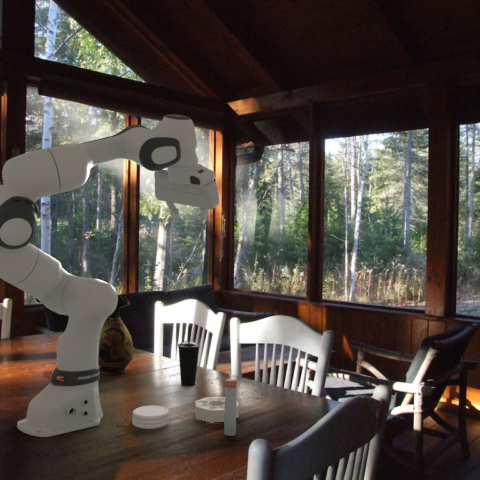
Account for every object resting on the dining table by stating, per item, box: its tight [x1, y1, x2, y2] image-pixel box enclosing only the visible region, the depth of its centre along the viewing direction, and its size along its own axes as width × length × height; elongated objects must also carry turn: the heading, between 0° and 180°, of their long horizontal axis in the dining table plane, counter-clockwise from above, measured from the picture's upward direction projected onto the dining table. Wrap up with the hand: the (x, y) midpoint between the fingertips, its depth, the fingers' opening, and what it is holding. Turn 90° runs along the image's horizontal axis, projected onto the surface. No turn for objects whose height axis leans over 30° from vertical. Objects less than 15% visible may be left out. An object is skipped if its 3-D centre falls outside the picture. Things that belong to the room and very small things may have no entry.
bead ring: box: [194, 396, 240, 424], centre depth 151 cm, size 12×12×4 cm
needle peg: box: [223, 378, 238, 437], centre depth 136 cm, size 3×3×14 cm
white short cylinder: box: [131, 404, 171, 430], centre depth 144 cm, size 10×10×4 cm
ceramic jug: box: [98, 295, 134, 376], centre depth 197 cm, size 17×15×30 cm
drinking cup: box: [177, 325, 201, 387], centre depth 182 cm, size 8×8×20 cm
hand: (188, 217), depth 153 cm, fingers open, 8 cm apart
